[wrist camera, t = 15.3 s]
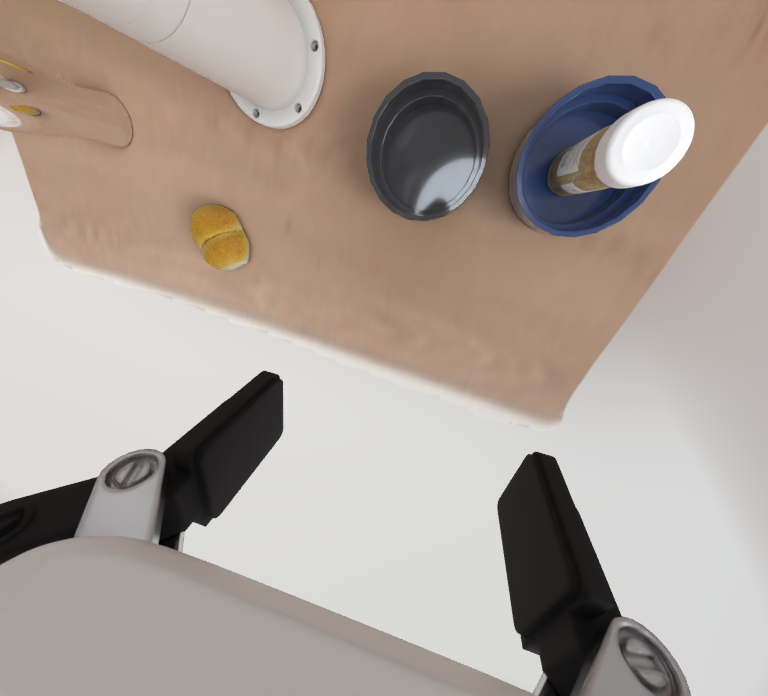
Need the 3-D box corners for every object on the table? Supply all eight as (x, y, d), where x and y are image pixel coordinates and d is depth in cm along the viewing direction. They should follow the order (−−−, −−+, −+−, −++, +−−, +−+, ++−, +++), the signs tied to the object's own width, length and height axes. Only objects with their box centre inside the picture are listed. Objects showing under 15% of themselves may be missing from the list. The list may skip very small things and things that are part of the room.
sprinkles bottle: (559, 206, 30) (626, 202, 18) (537, 170, 29) (592, 143, 17) (604, 172, 28) (712, 144, 16) (582, 133, 27) (679, 73, 15)
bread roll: (230, 195, 38) (207, 194, 35) (260, 258, 42) (243, 263, 38) (190, 216, 41) (166, 217, 38) (222, 274, 44) (202, 279, 41)
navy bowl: (490, 152, 30) (496, 142, 25) (620, 64, 25) (656, 32, 20) (530, 252, 33) (542, 259, 29) (652, 192, 28) (688, 188, 24)
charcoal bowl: (359, 144, 32) (344, 133, 28) (454, 61, 27) (454, 33, 23) (408, 238, 35) (402, 242, 31) (501, 180, 30) (509, 174, 26)
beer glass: (133, 162, 39) (-26, 138, 26) (90, 132, 39) (-94, 92, 26) (138, 108, 36) (-42, 50, 23) (90, 74, 35) (-122, -6, 22)
